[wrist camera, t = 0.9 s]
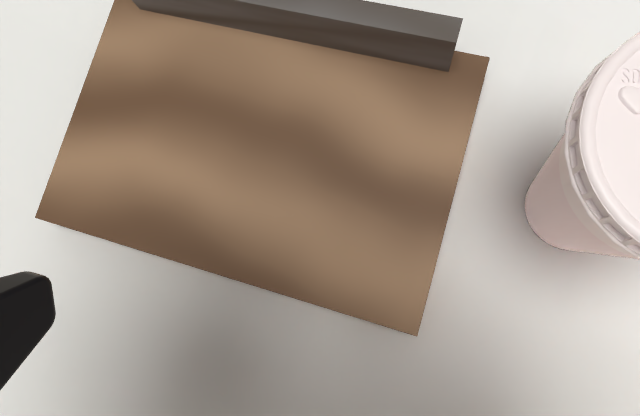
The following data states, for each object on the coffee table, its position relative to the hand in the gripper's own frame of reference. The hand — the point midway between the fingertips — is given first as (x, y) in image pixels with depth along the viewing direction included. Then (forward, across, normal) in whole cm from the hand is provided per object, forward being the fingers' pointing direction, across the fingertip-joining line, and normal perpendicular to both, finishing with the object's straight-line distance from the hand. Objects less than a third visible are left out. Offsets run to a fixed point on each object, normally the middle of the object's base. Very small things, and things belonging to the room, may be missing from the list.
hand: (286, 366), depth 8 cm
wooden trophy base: (+15, +6, +2) cm, 16 cm away
